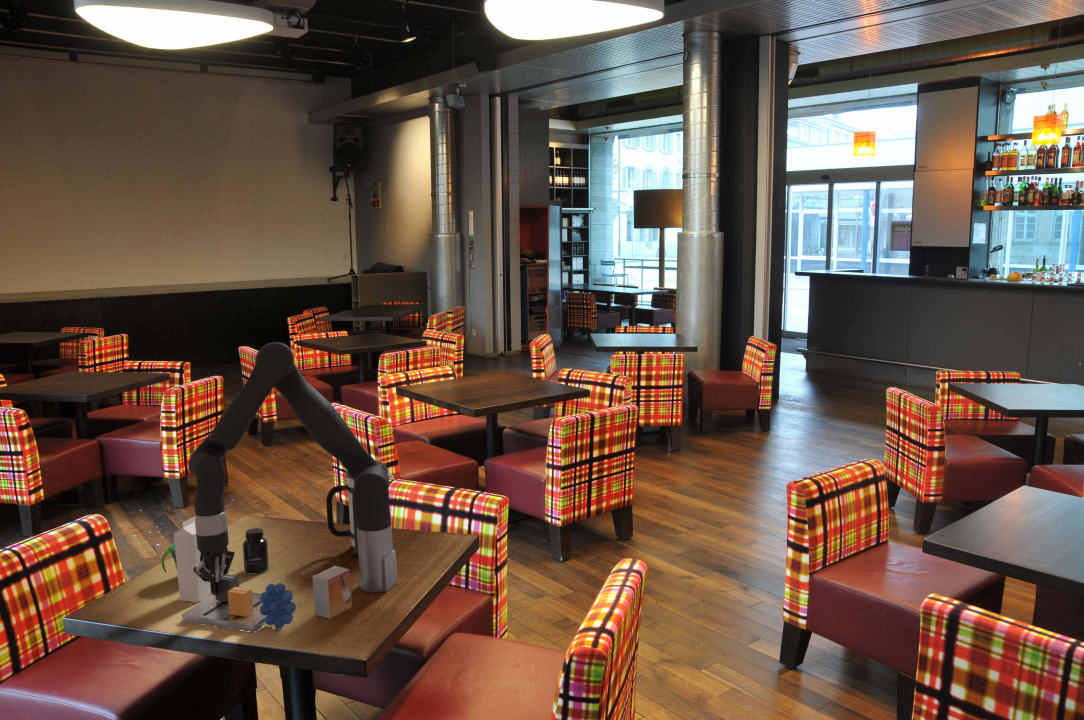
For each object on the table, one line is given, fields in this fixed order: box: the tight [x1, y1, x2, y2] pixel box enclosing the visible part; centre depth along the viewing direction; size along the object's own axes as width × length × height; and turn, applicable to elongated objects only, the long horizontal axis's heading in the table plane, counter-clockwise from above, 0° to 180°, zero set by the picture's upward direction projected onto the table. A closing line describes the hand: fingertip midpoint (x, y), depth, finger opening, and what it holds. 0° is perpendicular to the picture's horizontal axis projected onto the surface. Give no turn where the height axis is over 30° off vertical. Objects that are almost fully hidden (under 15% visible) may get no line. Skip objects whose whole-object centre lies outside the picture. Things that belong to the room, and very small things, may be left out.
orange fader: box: [228, 587, 254, 617], centre depth 207 cm, size 5×3×6 cm, turn 71°
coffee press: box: [325, 459, 394, 557], centre depth 252 cm, size 17×16×30 cm
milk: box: [173, 516, 212, 603], centre depth 222 cm, size 6×6×22 cm
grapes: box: [260, 582, 297, 630], centre depth 204 cm, size 12×7×12 cm, turn 61°
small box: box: [311, 565, 353, 620], centre depth 212 cm, size 8×6×10 cm
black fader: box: [216, 574, 240, 602], centre depth 215 cm, size 5×3×6 cm, turn 71°
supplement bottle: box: [242, 527, 270, 574], centre depth 240 cm, size 7×7×12 cm
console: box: [181, 591, 295, 633], centre depth 213 cm, size 22×16×2 cm
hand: (217, 594), depth 212 cm, fingers closed
